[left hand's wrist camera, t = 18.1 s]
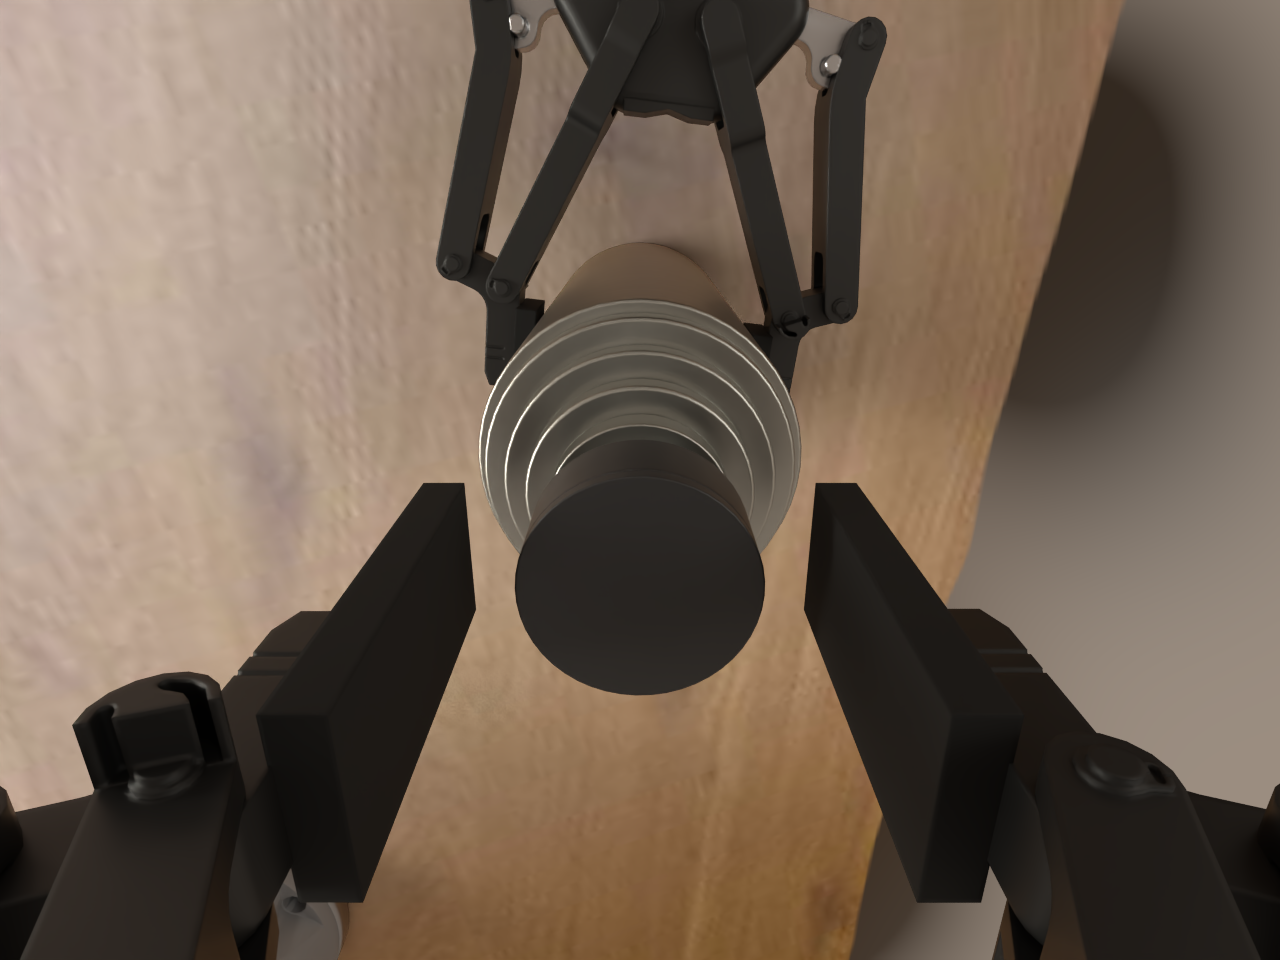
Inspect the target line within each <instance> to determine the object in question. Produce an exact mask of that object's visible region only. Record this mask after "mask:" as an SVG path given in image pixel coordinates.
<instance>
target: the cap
mask: <svg viewBox="0 0 1280 960" xmlns="http://www.w3.org/2000/svg"><path fill="white" fill-rule="evenodd" d="M515 595H516V603H517V607H518V611H519V615H520V618H521V620H522V623H523V625H524V627H525V630H526V631H527V633H528V635H529V636H530V638H531V640H532V641H533V643H534V644H535V646H536V647H537V648H538V649H539V651H540V652H541V653H542V654H543V655H544V656H545V657H546V658H547V659H548V660H549V661H550V662H551V663H552V664H553V665H554V666H556V667H557V668H558V669H560V670H561V671H562V672H564V673H565V674H567V675H569V676H570V677H572V678H574V679H575V680H577V681H579V682H582V683H584V684H586V685H588V686H591V687H594V688H597V689H600V690H603V691H607V692H612V693H618V694H626V695H655V694H662V693H668V692H672V691H676V690H680V689H683V688H686V687H689V686H691V685H694V684H696V683H698V682H700V681H702V680H704V679H706V678H708V677H710V676H711V675H713V674H714V673H716V672H717V671H719V670H720V669H722V668H723V667H724V666H725V665H726V664H728V663H729V662H730V661H731V660H732V659H733V658H734V657H735V656H736V655H737V654H738V653H739V652H740V651H741V649H742V648H743V647H744V645H745V644H746V642H747V641H748V640H749V638H750V637H751V635H752V633H753V631H754V629H755V627H756V625H757V623H758V620H759V617H760V614H761V611H762V607H763V601H764V596H765V577H764V568H763V564H762V560H761V557H760V553H759V550H758V547H757V544H756V541H755V537H754V534H753V531H752V528H751V525H750V522H749V519H748V516H747V513H746V510H745V507H744V505H743V503H742V500H741V498H740V496H739V494H738V493H737V491H736V489H735V488H734V486H733V485H732V483H731V482H730V481H729V480H728V479H727V477H726V476H725V475H724V474H723V473H722V472H721V471H720V470H719V469H718V468H717V467H715V466H714V465H713V464H712V463H710V462H709V461H707V460H706V459H705V458H703V457H702V456H700V455H698V454H696V453H694V452H692V451H690V450H688V449H686V448H683V447H680V446H677V445H675V444H670V443H666V442H661V441H654V440H625V441H619V442H613V443H610V444H606V445H603V446H599V447H597V448H594V449H592V450H590V451H588V452H585V453H584V454H582V455H580V456H579V457H577V458H575V459H574V460H572V461H571V462H570V463H568V464H567V465H566V466H565V467H563V468H562V469H561V470H560V471H559V472H558V473H557V474H556V475H555V476H554V477H553V478H552V479H551V481H550V482H549V483H548V485H547V486H546V488H545V489H544V490H543V492H542V494H541V496H540V498H539V500H538V502H537V504H536V507H535V510H534V513H533V516H532V519H531V522H530V525H529V528H528V531H527V534H526V537H525V540H524V543H523V547H522V550H521V553H520V556H519V559H518V563H517V569H516V574H515Z"/></svg>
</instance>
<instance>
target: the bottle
mask: <svg viewBox="0 0 1280 960" xmlns="http://www.w3.org/2000/svg"><path fill="white" fill-rule="evenodd" d="M625 440H654V441H661V442H666V443H670V444H675V445H677V446H680V447H683V448H686V449H688V450H690V451H692V452H694V453H696V454H698V455H700V456H702V457H703V458H705V459H706V460H707V461H709V462H710V463H712V464H713V465H714V466H715V467H717V468H718V469H719V470H720V471H721V472H722V473H723V474H724V475H725V476H726V477H727V479H728V480H729V481H730V482H731V483H732V485H733V486H734V488H735V489H736V491H737V493H738V494H739V496H740V498H741V500H742V503H743V505H744V507H745V510H746V513H747V516H748V519H749V522H750V525H751V528H752V531H753V534H754V537H755V541H756V544H757V547H758V550H759V553H761V552H762V551H763V550H764V549H765V548H766V546H767V545H768V543H769V542H770V540H771V539H772V537H773V536H774V534H775V533H776V531H777V529H778V528H779V526H780V525H781V523H782V522H783V520H784V518H785V515H786V513H787V511H788V509H789V507H790V505H791V502H792V499H793V496H794V493H795V490H796V487H797V483H798V477H799V472H800V466H801V438H800V428H799V423H798V419H797V415H796V410H795V407H794V404H793V401H792V399H791V396H790V394H789V391H788V389H787V387H786V385H785V383H784V382H783V380H782V378H781V376H780V375H779V373H778V371H777V369H776V368H775V367H774V365H773V364H772V363H771V361H770V360H769V358H768V357H767V356H766V354H765V353H764V352H763V350H762V349H761V348H760V346H759V345H758V344H757V342H756V341H755V340H754V338H753V337H752V335H751V334H750V333H749V331H748V330H747V329H746V327H745V326H744V325H743V323H742V322H741V321H740V319H739V318H738V317H737V315H736V314H735V312H734V311H733V310H732V308H731V307H730V306H729V304H728V303H727V302H726V300H725V299H724V298H723V296H722V295H721V294H720V292H719V291H718V289H717V288H716V287H715V285H714V284H713V283H712V281H711V280H710V279H709V277H708V276H707V275H706V274H705V272H704V271H703V270H702V269H701V268H700V267H699V266H698V265H697V264H696V263H694V262H693V261H692V260H690V259H689V258H688V257H686V256H685V255H683V254H681V253H679V252H677V251H675V250H673V249H670V248H668V247H665V246H661V245H657V244H650V243H629V244H624V245H619V246H616V247H612V248H609V249H607V250H605V251H603V252H601V253H599V254H597V255H595V256H594V257H592V258H591V259H589V260H588V261H587V262H586V263H584V264H583V265H582V266H581V267H580V268H579V269H578V270H577V271H576V272H575V274H574V275H573V276H572V277H571V278H570V280H569V281H568V282H567V284H566V285H565V287H564V288H563V289H562V291H561V292H560V293H559V295H558V296H557V297H556V299H555V300H554V301H553V303H552V304H551V305H550V307H549V308H548V309H547V311H546V312H545V314H544V315H543V316H542V318H541V319H540V320H539V322H538V323H537V324H536V326H535V327H534V328H533V330H532V331H531V332H530V334H529V335H528V336H527V338H526V339H525V341H524V342H523V343H522V345H521V346H520V347H519V349H518V350H517V351H516V353H515V354H514V355H513V357H512V358H511V359H510V361H509V362H508V364H507V365H506V367H505V368H504V370H503V371H502V373H501V374H500V376H499V377H498V379H497V381H496V383H495V385H494V387H493V389H492V391H491V394H490V396H489V398H488V401H487V404H486V407H485V411H484V414H483V417H482V422H481V429H480V435H479V464H480V472H481V479H482V483H483V487H484V490H485V494H486V497H487V500H488V502H489V505H490V507H491V509H492V512H493V514H494V516H495V518H496V520H497V521H498V523H499V525H500V526H501V528H502V530H503V532H504V533H505V534H506V536H507V538H508V539H509V541H510V542H511V543H512V545H513V546H514V547H515V549H516V550H517V551H518V552H519V554H520V553H521V550H522V547H523V543H524V540H525V537H526V534H527V531H528V528H529V525H530V522H531V519H532V516H533V513H534V510H535V507H536V504H537V502H538V500H539V498H540V496H541V494H542V492H543V490H544V489H545V488H546V486H547V485H548V483H549V482H550V481H551V479H552V478H553V477H554V476H555V475H556V474H557V473H558V472H559V471H560V470H561V469H562V468H563V467H565V466H566V465H567V464H568V463H570V462H571V461H572V460H574V459H575V458H577V457H579V456H580V455H582V454H584V453H585V452H588V451H590V450H592V449H594V448H597V447H599V446H603V445H606V444H610V443H613V442H619V441H625Z"/></svg>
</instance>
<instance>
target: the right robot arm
mask: <svg viewBox="0 0 1280 960" xmlns="http://www.w3.org/2000/svg"><path fill="white" fill-rule="evenodd" d="M470 8H471V16H472V24H473V32H474V40H475V49H476V50H475V56H474V61H473V66H472V72H471V77H470V82H469V88H468V93H467V98H466V103H465V109H464V114H463V119H462V125H461V130H460V135H459V141H458V146H457V151H456V156H455V162H454V167H453V172H452V178H451V183H450V188H449V194H448V199H447V204H446V209H445V215H444V220H443V225H442V231H441V236H440V241H439V247H438V252H437V257H436V266H437V269H438V271H439V273H440V274H441V275H442V276H443V277H444V278H446V279H448V280H453V281H458V282H460V283H462V284H464V285H466V286H468V287H470V288H473V289H474V290H476V291H477V292H479V293H480V294H481V295H482V297H483V299H484V300H485V303H486V307H487V321H486V349H485V374H486V376H487V379H488V382H489V385H495V383H496V381H497V379H498V377H499V376H500V374H501V373H502V371H503V370H504V368H505V367H506V365H507V364H508V362H509V361H510V359H511V358H512V357H513V355H514V354H515V353H516V351H517V350H518V349H519V347H520V346H521V345H522V343H523V342H524V341H525V339H526V338H527V336H528V335H529V334H530V332H531V331H532V330H533V328H534V327H535V326H536V324H537V323H538V322H539V320H540V319H541V318H542V316H543V315H544V305H545V300H537V299H528V298H526V299H525V289H526V288H527V287H528V286H529V285H528V283H529V281H530V279H531V277H532V275H533V273H534V271H535V269H536V267H537V265H538V263H539V262H540V260H541V258H542V256H543V254H544V252H545V250H546V248H547V246H548V244H549V242H550V240H551V238H552V236H553V234H554V232H555V230H556V228H557V226H558V225H559V223H560V221H561V219H562V217H563V215H564V213H565V211H566V209H567V207H568V205H569V203H570V201H571V199H572V197H573V195H574V193H575V191H576V190H577V188H578V186H579V184H580V182H581V180H582V178H583V176H584V174H585V172H586V170H587V168H588V166H589V164H590V162H591V160H592V158H593V156H594V154H595V153H596V151H597V149H598V147H599V145H600V143H601V141H602V139H603V138H604V136H605V135H606V133H607V131H608V129H609V127H610V125H611V123H612V121H613V119H614V118H615V116H616V114H617V112H618V111H620V112H623V113H624V115H625V116H634V117H642V118H647V117H653V116H659V115H665V114H667V115H670V116H673V117H675V118H677V119H679V120H682V121H684V122H686V123H691V124H699V125H707V126H709V125H710V124H711V123H714V124H715V127H716V131H717V135H718V139H719V143H720V146H721V149H722V152H723V154H724V157H725V161H726V165H727V169H728V173H729V177H730V181H731V185H732V189H733V192H734V196H735V200H736V204H737V208H738V212H739V216H740V220H741V224H742V228H743V232H744V236H745V240H746V244H747V248H748V252H749V256H750V260H751V263H752V267H753V271H754V275H755V279H756V283H757V287H758V291H759V295H760V299H761V303H762V307H763V311H764V315H765V320H764V326H763V325H760V324H751V323H743V325H744V326H745V327H746V329H747V330H748V331H749V333H750V334H751V335H752V337H753V338H754V340H755V341H756V342H757V344H758V345H759V346H760V348H761V349H762V350H763V352H764V353H765V354H766V356H767V357H768V358H769V360H770V361H771V363H772V364H773V365H774V367H775V368H776V369H777V371H778V373H779V375H780V376H781V378H782V380H783V382H784V383H785V385H786V387H787V389H788V391H789V393H790V388H791V383H792V377H793V372H794V367H795V361H796V356H797V351H798V346H799V342H800V340H801V338H802V337H804V336H805V334H806V333H807V332H808V331H809V330H810V329H812V328H815V327H819V326H823V325H827V324H831V323H837V324H843V323H847V322H848V321H850V320H851V319H853V317H854V316H855V314H856V312H857V308H858V288H859V262H860V237H861V211H862V185H863V160H864V134H865V108H866V97H867V94H868V91H869V89H870V86H871V83H872V80H873V77H874V75H875V72H876V69H877V66H878V63H879V61H880V58H881V55H882V52H883V49H884V47H885V44H886V38H887V33H886V27H885V26H884V24H883V23H882V21H880V20H879V19H877V18H876V17H866V18H863V19H861V20H860V21H858V22H857V23H855V22H851V21H848V20H845V19H842V18H839V17H836V16H834V15H831V14H828V13H825V12H822V11H819V10H816V9H813V8H810V7H809V0H470ZM556 14H560V16H561V18H562V20H563V22H564V24H565V26H566V28H567V30H568V31H569V33H570V35H571V37H572V39H573V41H574V43H575V45H576V47H577V49H578V51H579V52H580V54H581V56H582V58H583V60H584V62H585V64H586V66H587V68H588V71H587V73H586V75H585V78H584V80H583V82H582V84H581V86H580V88H579V90H578V92H577V94H576V96H575V98H574V100H573V102H572V104H571V107H570V109H569V112H568V115H567V118H566V120H565V122H564V124H563V126H562V128H561V130H560V132H559V134H558V136H557V138H556V140H555V142H554V145H553V147H552V149H551V151H550V153H549V155H548V157H547V159H546V161H545V163H544V165H543V167H542V169H541V171H540V173H539V175H538V177H537V179H536V181H535V183H534V185H533V187H532V189H531V191H530V193H529V195H528V197H527V199H526V201H525V203H524V205H523V207H522V209H521V211H520V213H519V215H518V218H517V220H516V222H515V224H514V226H513V228H512V230H511V232H510V234H509V236H508V238H507V240H506V242H505V244H504V246H503V248H502V250H501V252H500V254H499V256H498V258H497V257H495V256H493V255H491V254H489V253H487V252H485V246H486V241H487V237H488V232H489V227H490V222H491V218H492V213H493V208H494V203H495V199H496V194H497V189H498V185H499V180H500V175H501V170H502V166H503V161H504V156H505V151H506V147H507V142H508V137H509V132H510V128H511V123H512V118H513V113H514V109H515V104H516V99H517V94H518V90H519V84H520V78H521V69H522V53H526V52H530V51H532V50H533V49H535V47H536V46H537V45H538V43H539V41H540V36H541V29H542V26H543V24H544V22H545V21H546V20H547V18H549V17H551V16H552V15H556ZM793 44H794V45H796V46H798V47H799V48H800V49H801V50H802V51H803V52H804V54H805V57H806V79H807V81H808V83H809V84H810V85H811V86H812V87H813V88H815V89H817V90H819V91H818V95H817V100H816V106H815V116H814V154H813V215H812V277H811V289H808V290H804V291H800V287H799V282H798V278H797V274H796V270H795V265H794V261H793V257H792V252H791V248H790V244H789V240H788V235H787V231H786V227H785V222H784V218H783V214H782V210H781V205H780V201H779V197H778V192H777V188H776V184H775V180H774V175H773V171H772V167H771V162H770V158H769V154H768V150H767V145H766V138H765V126H764V122H763V117H762V113H761V109H760V104H759V100H758V96H757V91H756V87H757V86H758V85H759V84H760V83H761V82H762V80H763V79H764V78H765V77H766V76H767V75H768V73H769V72H770V71H771V70H772V69H773V68H774V66H775V65H776V64H777V63H778V62H779V61H780V59H781V58H782V57H783V56H784V55H785V54H786V52H787V51H788V50H789V49H790V48H791V47H792V45H793Z"/></svg>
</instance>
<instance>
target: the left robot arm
mask: <svg viewBox="0 0 1280 960" xmlns="http://www.w3.org/2000/svg"><path fill="white" fill-rule="evenodd" d="M475 611H476V604H475V593H474V583H473V572H472V561H471V550H470V540H469V529H468V518H467V507H466V497H465V486H464V483H423V485H422V486H421V487H420V489H419V490H418V492H417V493H416V494H415V496H414V497H413V498H412V500H411V501H410V503H409V504H408V505H407V507H406V508H405V509H404V511H403V512H402V514H401V515H400V516H399V518H398V519H397V521H396V522H395V523H394V525H393V526H392V527H391V529H390V530H389V532H388V533H387V534H386V536H385V537H384V538H383V540H382V541H381V543H380V544H379V545H378V547H377V548H376V549H375V551H374V552H373V554H372V555H371V556H370V558H369V559H368V561H367V562H366V563H365V565H364V566H363V567H362V569H361V570H360V572H359V573H358V574H357V576H356V577H355V578H354V580H353V581H352V583H351V584H350V585H349V587H348V588H347V589H346V591H345V592H344V594H343V595H342V596H341V598H340V599H339V601H338V602H337V603H336V605H335V606H334V607H333V609H332V610H331V611H301V612H299V613H298V614H296V615H294V616H293V617H291V618H290V619H288V620H287V621H285V622H284V623H282V624H280V625H279V626H277V627H276V628H274V629H273V630H271V632H270V633H269V634H268V635H267V636H266V638H265V639H264V640H263V641H262V642H261V644H260V645H259V646H258V647H257V649H256V650H255V651H254V652H253V657H249V658H248V659H247V661H246V662H245V663H244V664H243V665H242V667H241V668H240V669H239V670H238V675H237V676H233V678H232V679H231V680H230V681H229V682H228V684H227V685H226V686H225V687H224V688H223V690H222V691H221V689H220V685H219V683H217V682H216V681H215V680H213V679H212V678H211V677H210V676H208V675H204V674H199V673H193V672H177V673H164V674H160V675H156V676H152V677H149V678H145V679H141V680H137V681H134V682H132V683H130V684H128V685H125V686H123V687H121V688H119V689H116V690H114V691H112V692H110V693H108V694H107V695H105V696H104V697H102V698H101V699H99V700H98V701H96V702H95V703H93V704H92V705H90V706H89V707H88V708H86V709H85V711H84V712H83V713H82V714H81V715H80V716H79V718H78V719H77V720H76V721H75V722H74V724H73V725H72V726H73V729H74V732H75V735H76V737H77V740H78V743H79V746H80V749H81V752H82V755H83V758H84V761H85V764H86V766H87V769H88V772H89V775H90V778H91V781H92V784H93V787H94V792H93V794H92V795H89V796H85V797H82V798H77V799H73V800H68V801H64V802H59V803H55V804H50V805H46V806H41V807H37V808H32V809H28V810H23V811H19V812H15V811H14V809H13V806H12V804H11V801H10V799H9V796H8V794H7V791H6V790H5V789H4V788H2V787H1V786H0V960H337V959H338V956H339V954H340V951H341V949H342V946H343V944H344V941H345V939H346V936H347V932H348V927H349V910H348V904H347V903H363V901H364V898H365V896H366V893H367V891H368V888H369V886H370V883H371V880H372V878H373V875H374V873H375V870H376V867H377V865H378V862H379V860H380V857H381V854H382V852H383V849H384V847H385V844H386V841H387V839H388V836H389V834H390V831H391V829H392V826H393V823H394V821H395V818H396V816H397V813H398V810H399V808H400V805H401V803H402V800H403V797H404V795H405V792H406V790H407V787H408V784H409V782H410V779H411V777H412V774H413V772H414V769H415V766H416V764H417V761H418V759H419V756H420V753H421V751H422V748H423V746H424V743H425V740H426V738H427V735H428V733H429V730H430V727H431V725H432V722H433V720H434V717H435V715H436V712H437V709H438V707H439V704H440V702H441V699H442V696H443V694H444V691H445V689H446V686H447V683H448V681H449V678H450V676H451V673H452V670H453V668H454V665H455V663H456V660H457V658H458V655H459V652H460V650H461V647H462V645H463V642H464V639H465V637H466V634H467V632H468V629H469V626H470V624H471V621H472V619H473V616H474V613H475ZM804 611H805V613H806V616H807V619H808V621H809V624H810V626H811V629H812V632H813V634H814V637H815V639H816V642H817V645H818V647H819V650H820V652H821V655H822V658H823V660H824V663H825V665H826V668H827V670H828V673H829V676H830V678H831V681H832V683H833V686H834V689H835V691H836V694H837V696H838V699H839V702H840V704H841V707H842V709H843V712H844V715H845V717H846V720H847V722H848V725H849V727H850V730H851V733H852V735H853V738H854V740H855V743H856V746H857V748H858V751H859V753H860V756H861V759H862V761H863V764H864V766H865V769H866V772H867V774H868V777H869V779H870V782H871V784H872V787H873V790H874V792H875V795H876V797H877V800H878V803H879V805H880V808H881V810H882V813H883V816H884V818H885V821H886V823H887V826H888V829H889V831H890V834H891V836H892V839H893V841H894V844H895V847H896V849H897V852H898V854H899V857H900V860H901V862H902V865H903V867H904V870H905V872H906V875H907V878H908V880H909V883H910V885H911V888H912V891H913V893H914V896H915V898H916V901H917V902H918V903H981V900H982V896H983V892H984V888H985V883H986V879H987V875H988V870H989V866H990V867H991V869H992V871H993V873H994V874H995V876H996V878H997V880H998V882H999V884H1000V886H1001V888H1002V890H1003V892H1004V894H1005V896H1006V898H1007V901H1006V906H1005V910H1004V914H1003V918H1002V922H1001V926H1000V930H999V934H998V938H997V942H996V946H995V950H994V954H993V958H992V960H1280V784H1279V785H1277V786H1276V787H1275V789H1274V791H1273V794H1272V796H1271V799H1270V801H1269V804H1268V806H1267V809H1263V808H1258V807H1254V806H1249V805H1245V804H1240V803H1235V802H1231V801H1227V800H1222V799H1218V798H1213V797H1208V796H1204V795H1199V794H1196V793H1192V792H1189V791H1186V789H1185V787H1184V786H1183V784H1182V783H1181V782H1180V780H1179V779H1178V777H1177V776H1176V775H1175V773H1174V772H1173V771H1172V770H1171V769H1170V768H1169V767H1167V766H1166V765H1165V764H1163V763H1162V762H1161V761H1160V760H1158V759H1157V758H1156V757H1155V756H1153V755H1152V754H1150V753H1148V752H1146V751H1144V750H1142V749H1140V748H1138V747H1137V746H1135V745H1133V744H1131V743H1129V742H1127V741H1123V740H1120V739H1117V738H1114V737H1110V736H1107V735H1104V734H1100V733H1096V732H1095V731H1094V729H1093V728H1092V727H1091V726H1090V725H1089V723H1088V722H1087V721H1086V720H1085V719H1084V717H1083V716H1082V715H1081V714H1080V713H1079V711H1078V710H1077V709H1076V708H1075V707H1074V705H1073V704H1072V703H1071V702H1070V701H1069V699H1068V698H1067V697H1066V696H1065V695H1064V693H1063V692H1062V691H1061V690H1060V689H1059V687H1058V686H1057V685H1056V684H1055V683H1054V681H1053V680H1052V679H1051V678H1050V677H1049V675H1048V674H1047V673H1043V671H1042V667H1041V666H1040V665H1039V663H1038V662H1037V661H1036V660H1035V659H1034V657H1033V656H1032V655H1031V654H1028V653H1027V649H1026V648H1025V647H1024V645H1023V644H1022V643H1021V642H1020V641H1019V639H1018V638H1017V637H1016V636H1015V635H1014V633H1013V632H1012V631H1011V630H1010V629H1009V628H1008V627H1007V626H1005V625H1004V624H1002V623H1001V622H999V621H998V620H996V619H994V618H993V617H991V616H990V615H988V614H987V613H985V612H983V611H982V610H980V609H947V607H946V606H945V605H944V603H943V602H942V601H941V599H940V598H939V596H938V595H937V594H936V592H935V591H934V589H933V588H932V587H931V585H930V584H929V583H928V581H927V580H926V578H925V577H924V576H923V574H922V573H921V572H920V570H919V569H918V567H917V566H916V565H915V563H914V562H913V561H912V559H911V558H910V556H909V555H908V554H907V552H906V551H905V549H904V548H903V547H902V545H901V544H900V543H899V541H898V540H897V538H896V537H895V536H894V534H893V533H892V532H891V530H890V529H889V527H888V526H887V525H886V523H885V522H884V521H883V519H882V518H881V516H880V515H879V514H878V512H877V511H876V509H875V508H874V507H873V505H872V504H871V503H870V501H869V500H868V498H867V497H866V496H865V494H864V493H863V492H862V490H861V489H860V487H859V486H858V485H857V483H816V486H815V497H814V507H813V518H812V529H811V540H810V550H809V561H808V572H807V583H806V593H805V604H804Z"/></svg>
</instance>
